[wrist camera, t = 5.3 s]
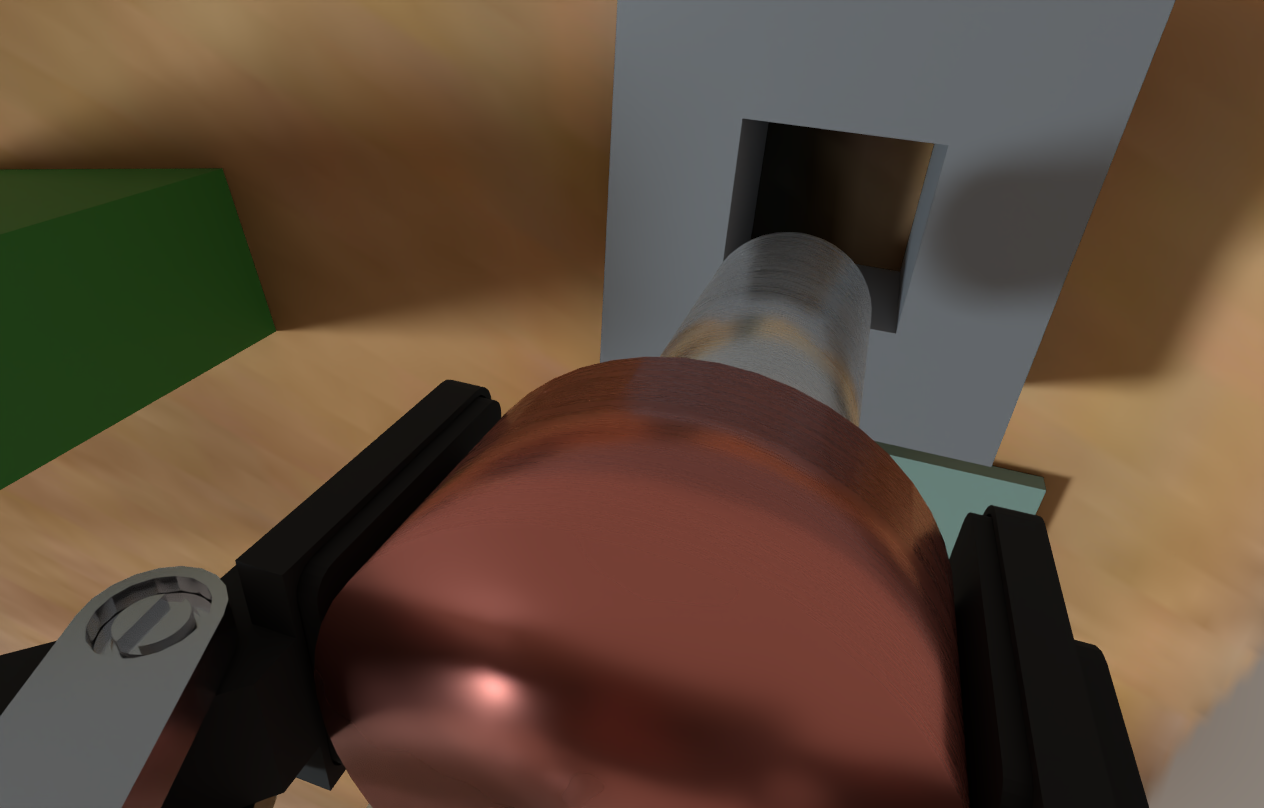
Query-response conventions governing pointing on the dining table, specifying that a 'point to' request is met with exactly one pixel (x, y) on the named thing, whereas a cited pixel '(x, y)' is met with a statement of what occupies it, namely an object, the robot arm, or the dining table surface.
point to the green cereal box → (113, 299)
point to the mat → (965, 488)
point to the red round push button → (667, 585)
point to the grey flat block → (888, 107)
